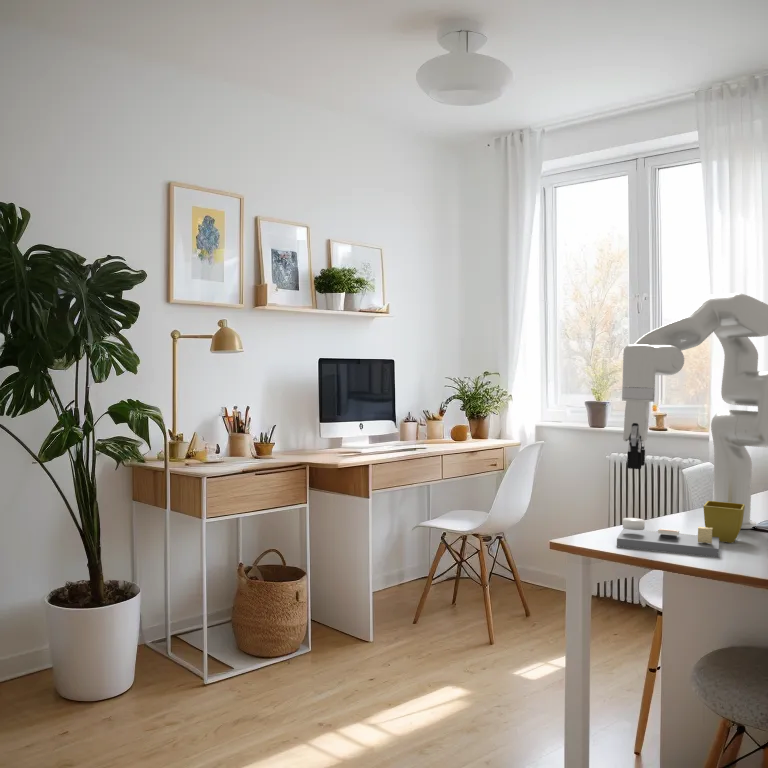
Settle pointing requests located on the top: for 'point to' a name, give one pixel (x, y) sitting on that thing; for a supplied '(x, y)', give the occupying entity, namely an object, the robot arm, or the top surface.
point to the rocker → (668, 531)
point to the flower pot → (724, 519)
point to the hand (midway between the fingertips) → (636, 466)
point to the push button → (633, 523)
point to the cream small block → (705, 534)
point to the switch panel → (667, 543)
